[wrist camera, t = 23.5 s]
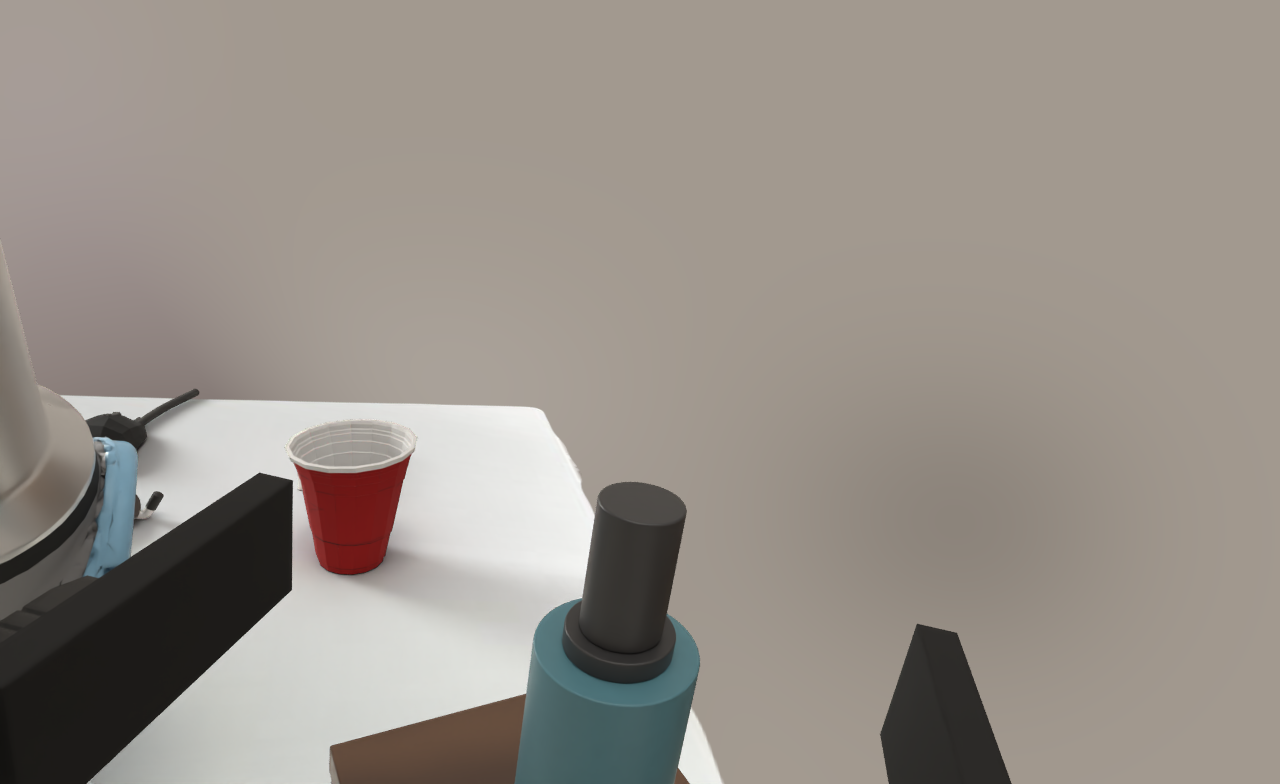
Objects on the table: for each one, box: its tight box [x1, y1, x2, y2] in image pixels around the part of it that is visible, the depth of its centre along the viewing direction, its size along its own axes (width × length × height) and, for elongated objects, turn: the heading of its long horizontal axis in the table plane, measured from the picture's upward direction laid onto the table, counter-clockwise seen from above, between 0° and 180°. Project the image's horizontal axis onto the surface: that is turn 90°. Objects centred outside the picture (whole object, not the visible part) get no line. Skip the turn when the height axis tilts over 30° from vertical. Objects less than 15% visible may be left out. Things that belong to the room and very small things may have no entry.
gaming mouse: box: [85, 412, 147, 450], centre depth 83 cm, size 6×15×4 cm, turn 9°
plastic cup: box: [284, 419, 418, 574], centre depth 69 cm, size 11×11×12 cm
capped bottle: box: [515, 482, 700, 784], centre depth 29 cm, size 6×6×18 cm
